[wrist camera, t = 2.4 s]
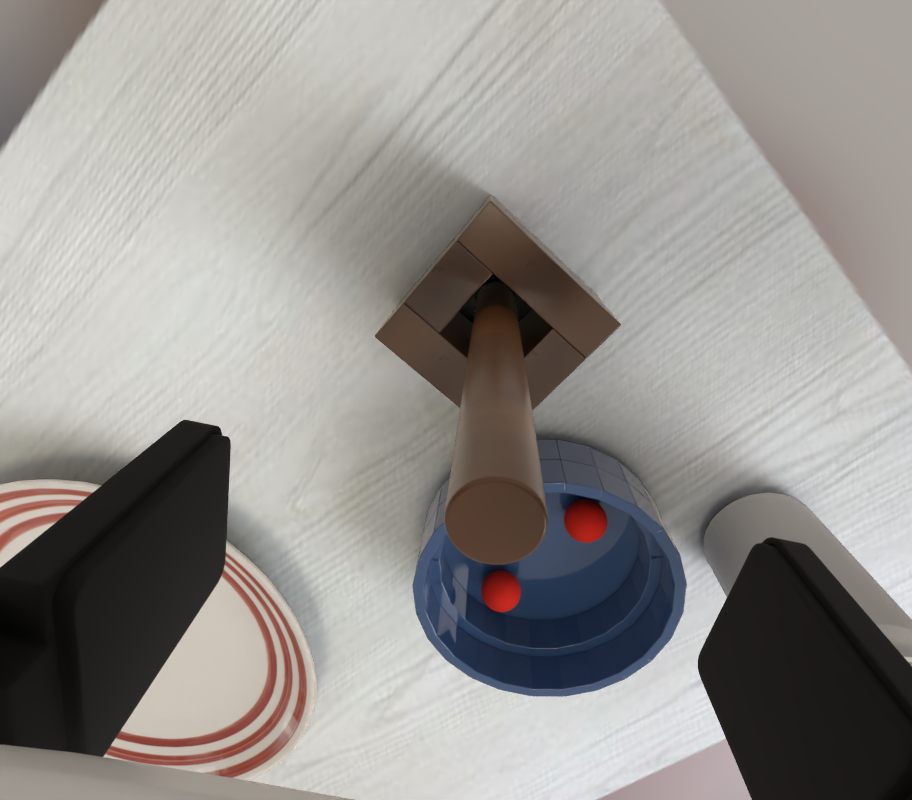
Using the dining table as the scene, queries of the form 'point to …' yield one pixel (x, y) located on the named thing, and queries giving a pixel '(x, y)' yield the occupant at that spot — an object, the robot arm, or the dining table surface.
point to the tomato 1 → (501, 591)
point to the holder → (528, 275)
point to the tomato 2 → (585, 521)
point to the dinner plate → (201, 660)
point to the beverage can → (798, 523)
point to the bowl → (559, 587)
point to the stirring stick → (496, 443)
